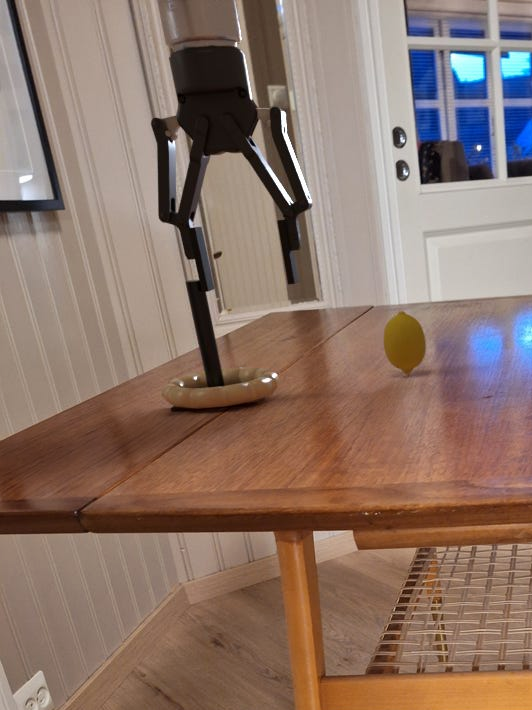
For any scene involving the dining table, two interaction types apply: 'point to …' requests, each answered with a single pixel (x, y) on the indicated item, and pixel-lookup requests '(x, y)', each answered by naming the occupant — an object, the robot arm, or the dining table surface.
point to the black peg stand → (206, 342)
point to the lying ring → (221, 388)
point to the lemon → (404, 342)
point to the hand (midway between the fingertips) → (250, 286)
